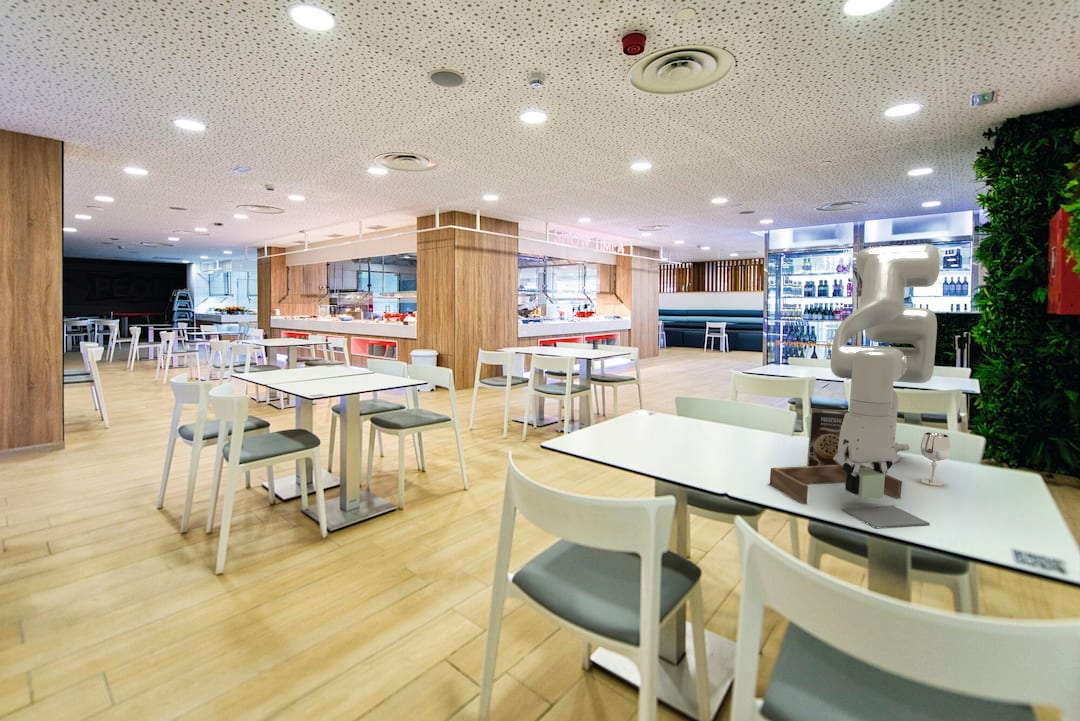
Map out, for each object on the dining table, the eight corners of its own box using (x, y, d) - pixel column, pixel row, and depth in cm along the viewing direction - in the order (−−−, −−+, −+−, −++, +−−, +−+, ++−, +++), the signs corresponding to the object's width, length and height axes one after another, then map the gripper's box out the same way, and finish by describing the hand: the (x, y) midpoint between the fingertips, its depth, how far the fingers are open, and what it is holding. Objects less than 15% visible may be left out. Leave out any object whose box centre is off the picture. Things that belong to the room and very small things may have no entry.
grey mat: (893, 507, 111) (893, 505, 111) (929, 525, 103) (929, 523, 102) (842, 510, 110) (842, 508, 110) (875, 528, 101) (875, 526, 101)
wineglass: (941, 480, 128) (946, 433, 127) (951, 488, 123) (956, 438, 122) (914, 477, 130) (918, 431, 129) (922, 485, 125) (926, 436, 124)
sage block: (865, 489, 114) (867, 467, 114) (883, 497, 110) (885, 474, 109) (844, 490, 114) (846, 468, 113) (861, 498, 109) (863, 475, 108)
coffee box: (807, 473, 134) (811, 411, 132) (806, 466, 140) (810, 407, 138) (848, 478, 130) (852, 415, 128) (845, 470, 136) (850, 410, 134)
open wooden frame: (859, 479, 129) (860, 463, 129) (900, 498, 117) (902, 480, 116) (769, 483, 126) (770, 467, 125) (802, 503, 113) (803, 485, 113)
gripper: (892, 404, 114) (885, 483, 116) (821, 406, 112) (816, 487, 114) (921, 411, 107) (914, 496, 109) (845, 413, 105) (839, 500, 107)
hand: (863, 490), depth 112 cm, fingers closed on sage block, 5 cm apart
